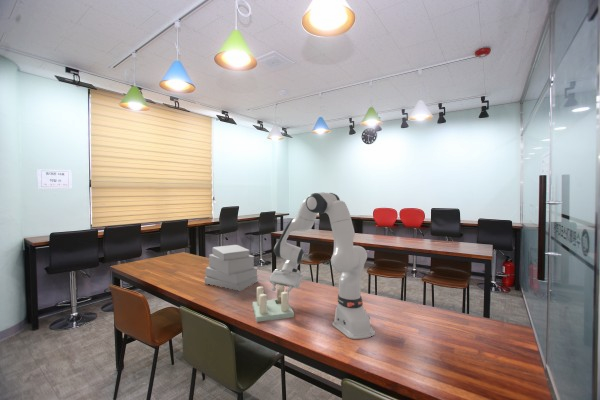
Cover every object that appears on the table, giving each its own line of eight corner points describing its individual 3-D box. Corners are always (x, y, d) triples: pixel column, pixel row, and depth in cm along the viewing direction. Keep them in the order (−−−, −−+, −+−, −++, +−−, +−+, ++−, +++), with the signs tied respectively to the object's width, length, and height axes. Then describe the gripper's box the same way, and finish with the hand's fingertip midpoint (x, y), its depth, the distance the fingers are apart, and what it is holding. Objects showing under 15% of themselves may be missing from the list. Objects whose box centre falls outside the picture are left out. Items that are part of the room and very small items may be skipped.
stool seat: (293, 317, 143) (293, 295, 143) (256, 321, 137) (256, 299, 137) (285, 302, 162) (285, 282, 162) (252, 306, 157) (252, 286, 156)
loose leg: (285, 305, 157) (285, 285, 157) (279, 307, 154) (279, 287, 154) (281, 303, 160) (281, 284, 160) (275, 305, 157) (275, 285, 157)
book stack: (237, 293, 176) (237, 255, 176) (198, 285, 192) (198, 250, 191) (262, 280, 203) (262, 247, 203) (227, 274, 219) (227, 243, 218)
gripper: (272, 266, 168) (263, 286, 159) (301, 270, 158) (292, 292, 150) (276, 271, 172) (267, 291, 163) (304, 276, 162) (296, 297, 154)
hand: (279, 291), depth 156 cm, fingers open, 8 cm apart
